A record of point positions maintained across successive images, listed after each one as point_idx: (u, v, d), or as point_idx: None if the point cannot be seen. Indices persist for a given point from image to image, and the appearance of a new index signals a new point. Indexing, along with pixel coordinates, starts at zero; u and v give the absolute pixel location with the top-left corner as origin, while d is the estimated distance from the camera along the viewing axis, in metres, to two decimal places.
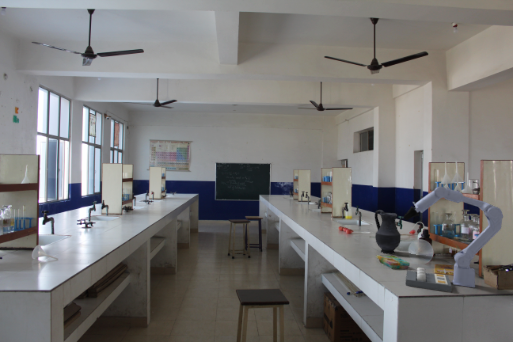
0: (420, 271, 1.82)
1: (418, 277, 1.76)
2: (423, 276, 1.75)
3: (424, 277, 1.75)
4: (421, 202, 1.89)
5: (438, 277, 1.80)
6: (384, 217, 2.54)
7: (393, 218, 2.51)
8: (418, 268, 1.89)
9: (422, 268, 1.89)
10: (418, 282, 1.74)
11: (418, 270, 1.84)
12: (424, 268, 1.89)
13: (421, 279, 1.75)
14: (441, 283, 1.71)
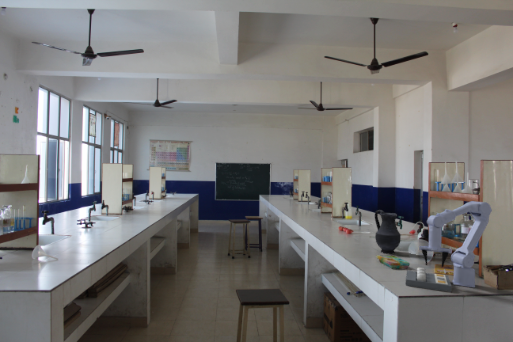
0: (420, 271, 1.82)
1: (418, 277, 1.76)
2: (423, 276, 1.75)
3: (424, 277, 1.75)
4: (440, 243, 1.78)
5: (438, 277, 1.80)
6: (384, 217, 2.54)
7: (393, 218, 2.51)
8: (418, 268, 1.89)
9: (422, 268, 1.89)
10: (418, 282, 1.74)
11: (418, 270, 1.84)
12: (424, 268, 1.89)
13: (421, 279, 1.75)
14: (441, 283, 1.71)
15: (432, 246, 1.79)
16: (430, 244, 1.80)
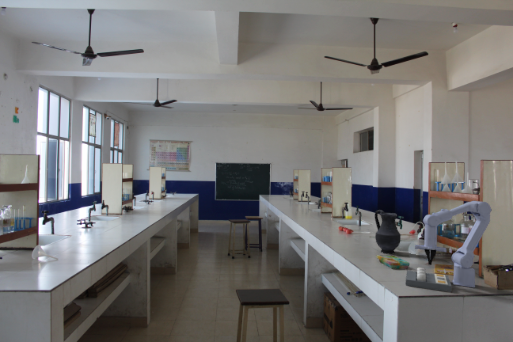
0: (420, 271, 1.82)
1: (418, 277, 1.76)
2: (423, 276, 1.75)
3: (424, 277, 1.75)
4: (435, 242, 1.81)
5: (438, 277, 1.80)
6: (384, 217, 2.54)
7: (393, 218, 2.51)
8: (418, 268, 1.89)
9: (422, 268, 1.89)
10: (418, 282, 1.74)
11: (418, 270, 1.84)
12: (424, 268, 1.89)
13: (421, 279, 1.75)
14: (441, 283, 1.71)
15: (428, 245, 1.81)
16: (426, 243, 1.82)
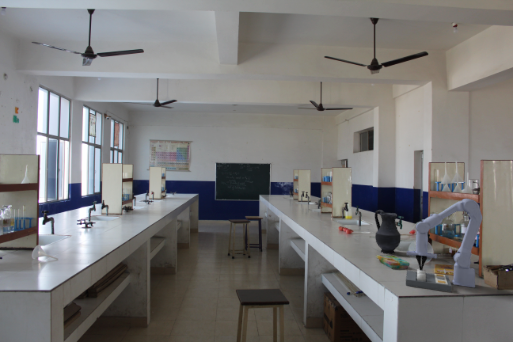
0: (420, 271, 1.82)
1: (418, 277, 1.76)
2: (423, 276, 1.75)
3: (424, 277, 1.75)
4: (426, 248, 1.87)
5: (438, 277, 1.80)
6: (384, 217, 2.54)
7: (393, 218, 2.51)
8: None
9: None
10: (418, 282, 1.74)
11: (418, 270, 1.84)
12: None
13: (421, 279, 1.75)
14: (441, 283, 1.71)
15: (419, 251, 1.87)
16: (417, 249, 1.88)
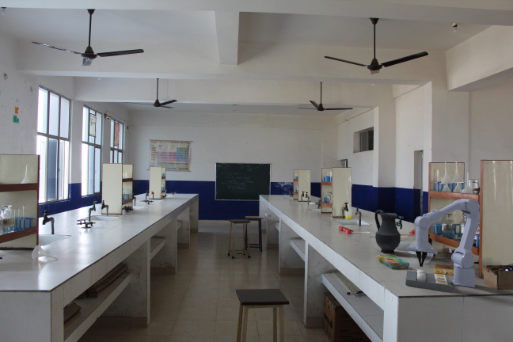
0: (420, 271, 1.82)
1: (418, 277, 1.76)
2: (423, 276, 1.75)
3: (424, 277, 1.75)
4: (426, 244, 1.80)
5: (438, 277, 1.80)
6: (384, 217, 2.54)
7: (393, 218, 2.51)
8: None
9: (422, 270, 1.89)
10: (418, 282, 1.74)
11: (418, 270, 1.84)
12: (424, 270, 1.89)
13: (421, 279, 1.75)
14: (441, 283, 1.71)
15: (419, 247, 1.80)
16: (417, 245, 1.81)
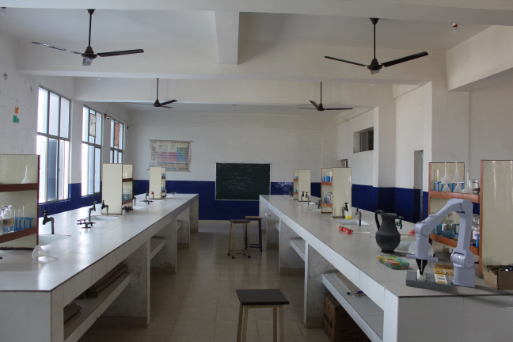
0: None
1: (418, 277, 1.76)
2: (423, 276, 1.75)
3: (424, 277, 1.75)
4: (427, 251, 1.75)
5: (438, 277, 1.80)
6: (384, 217, 2.54)
7: (393, 218, 2.51)
8: None
9: None
10: (418, 282, 1.74)
11: (418, 270, 1.84)
12: (424, 270, 1.89)
13: (421, 279, 1.75)
14: (441, 283, 1.71)
15: (419, 255, 1.75)
16: (417, 253, 1.76)
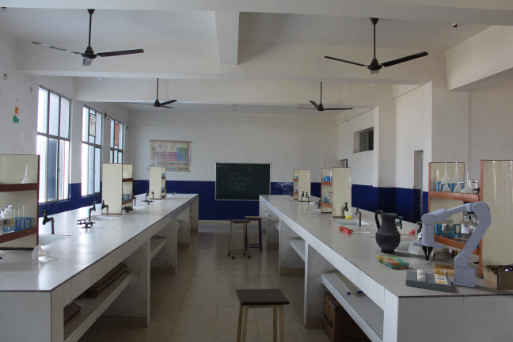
0: (420, 271, 1.82)
1: (418, 279, 1.76)
2: (423, 278, 1.75)
3: (424, 279, 1.75)
4: (432, 239, 1.90)
5: (438, 277, 1.80)
6: (384, 217, 2.54)
7: (393, 218, 2.51)
8: None
9: (422, 270, 1.89)
10: (418, 282, 1.74)
11: (418, 270, 1.84)
12: (424, 270, 1.89)
13: None
14: (441, 283, 1.71)
15: (425, 242, 1.91)
16: (423, 240, 1.92)
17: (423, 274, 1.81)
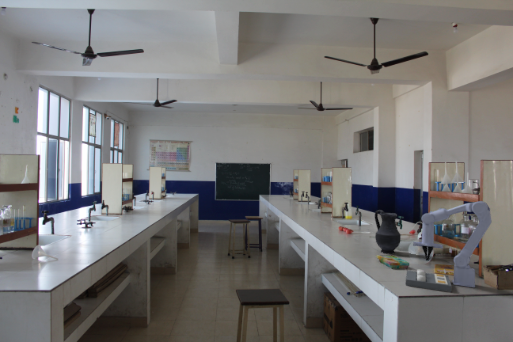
0: (420, 271, 1.82)
1: (418, 279, 1.76)
2: (423, 278, 1.75)
3: (424, 279, 1.75)
4: (432, 239, 1.90)
5: (438, 277, 1.80)
6: (384, 217, 2.54)
7: (393, 218, 2.51)
8: None
9: (422, 270, 1.89)
10: (418, 282, 1.74)
11: (418, 270, 1.84)
12: (424, 270, 1.89)
13: None
14: (441, 283, 1.71)
15: (425, 242, 1.91)
16: (423, 240, 1.92)
17: (423, 274, 1.81)
